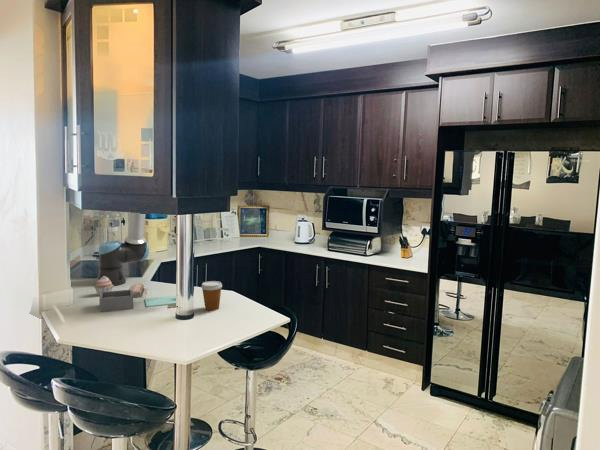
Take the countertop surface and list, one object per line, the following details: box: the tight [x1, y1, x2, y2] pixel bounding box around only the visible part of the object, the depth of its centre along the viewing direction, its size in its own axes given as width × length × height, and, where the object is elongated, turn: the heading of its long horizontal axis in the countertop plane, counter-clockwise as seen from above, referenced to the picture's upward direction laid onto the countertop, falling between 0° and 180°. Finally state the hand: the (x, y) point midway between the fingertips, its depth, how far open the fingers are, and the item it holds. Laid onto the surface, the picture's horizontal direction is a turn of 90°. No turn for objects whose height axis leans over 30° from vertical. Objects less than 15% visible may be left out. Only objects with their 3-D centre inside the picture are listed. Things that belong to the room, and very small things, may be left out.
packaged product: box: [128, 282, 149, 299], centre depth 232 cm, size 18×5×10 cm
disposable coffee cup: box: [201, 280, 223, 311], centre depth 210 cm, size 10×10×12 cm
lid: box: [144, 295, 177, 308], centre depth 218 cm, size 13×20×5 cm, turn 112°
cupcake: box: [93, 276, 114, 297], centre depth 231 cm, size 9×9×10 cm
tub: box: [98, 289, 134, 313], centre depth 209 cm, size 12×14×7 cm
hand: (183, 269), depth 220 cm, fingers open, 13 cm apart
